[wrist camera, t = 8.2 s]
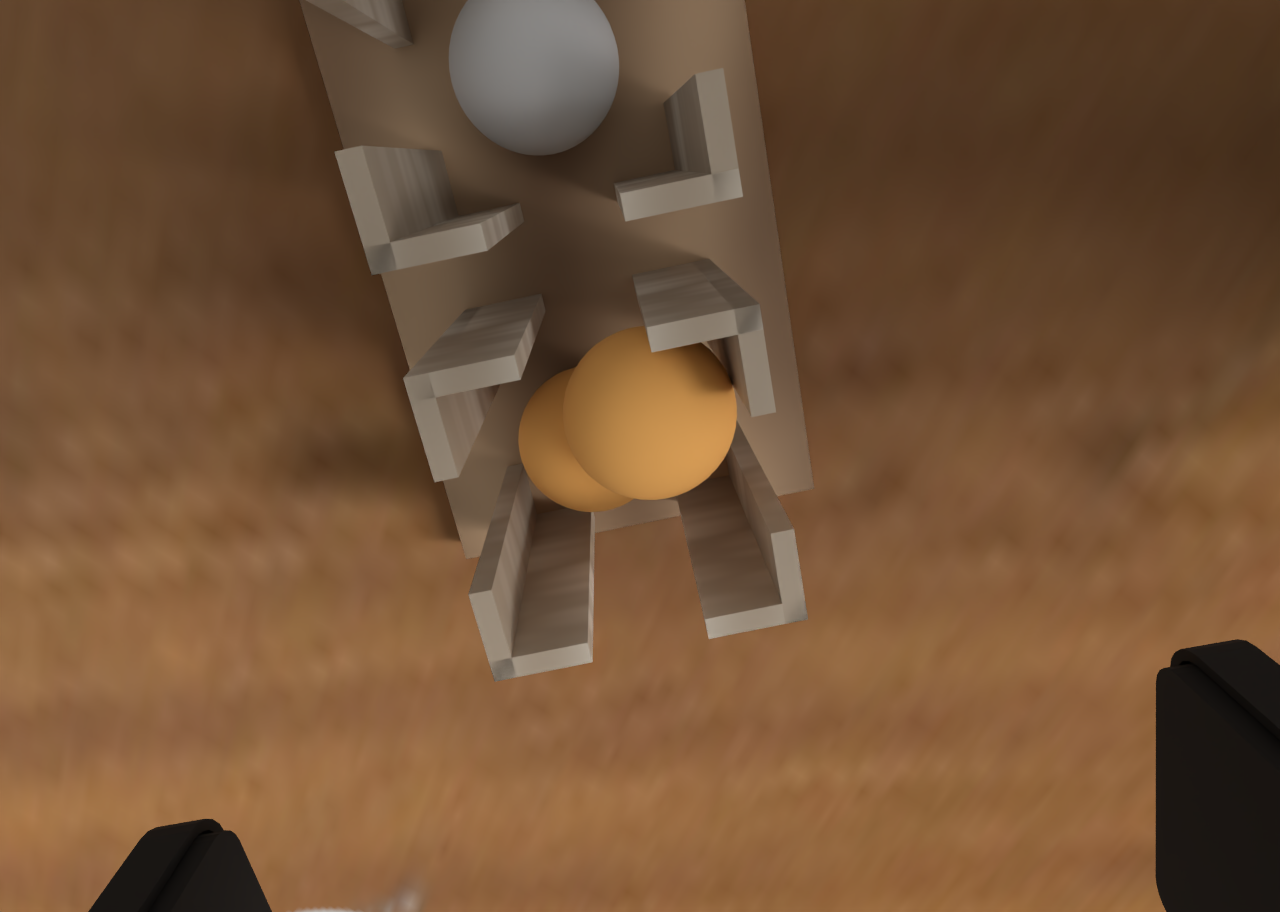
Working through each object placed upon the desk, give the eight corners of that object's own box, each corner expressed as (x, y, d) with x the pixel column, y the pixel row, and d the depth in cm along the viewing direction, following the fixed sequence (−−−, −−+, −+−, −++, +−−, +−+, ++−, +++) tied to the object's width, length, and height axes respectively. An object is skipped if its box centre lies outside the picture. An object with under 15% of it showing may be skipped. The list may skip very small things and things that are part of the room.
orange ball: (589, 419, 23) (696, 314, 22) (673, 537, 21) (794, 430, 20) (498, 394, 19) (622, 267, 18) (592, 533, 18) (733, 404, 17)
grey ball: (599, -28, 21) (599, -69, 18) (631, 139, 23) (637, 134, 19) (444, 6, 21) (411, -27, 18) (485, 170, 23) (462, 171, 19)
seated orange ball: (663, 334, 23) (625, 404, 20) (690, 458, 25) (660, 539, 22) (531, 348, 25) (475, 416, 21) (567, 464, 27) (520, 543, 23)
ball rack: (716, -135, 22) (794, -330, 13) (805, 474, 27) (900, 621, 19) (299, -42, 22) (104, -175, 13) (472, 542, 28) (412, 717, 19)
